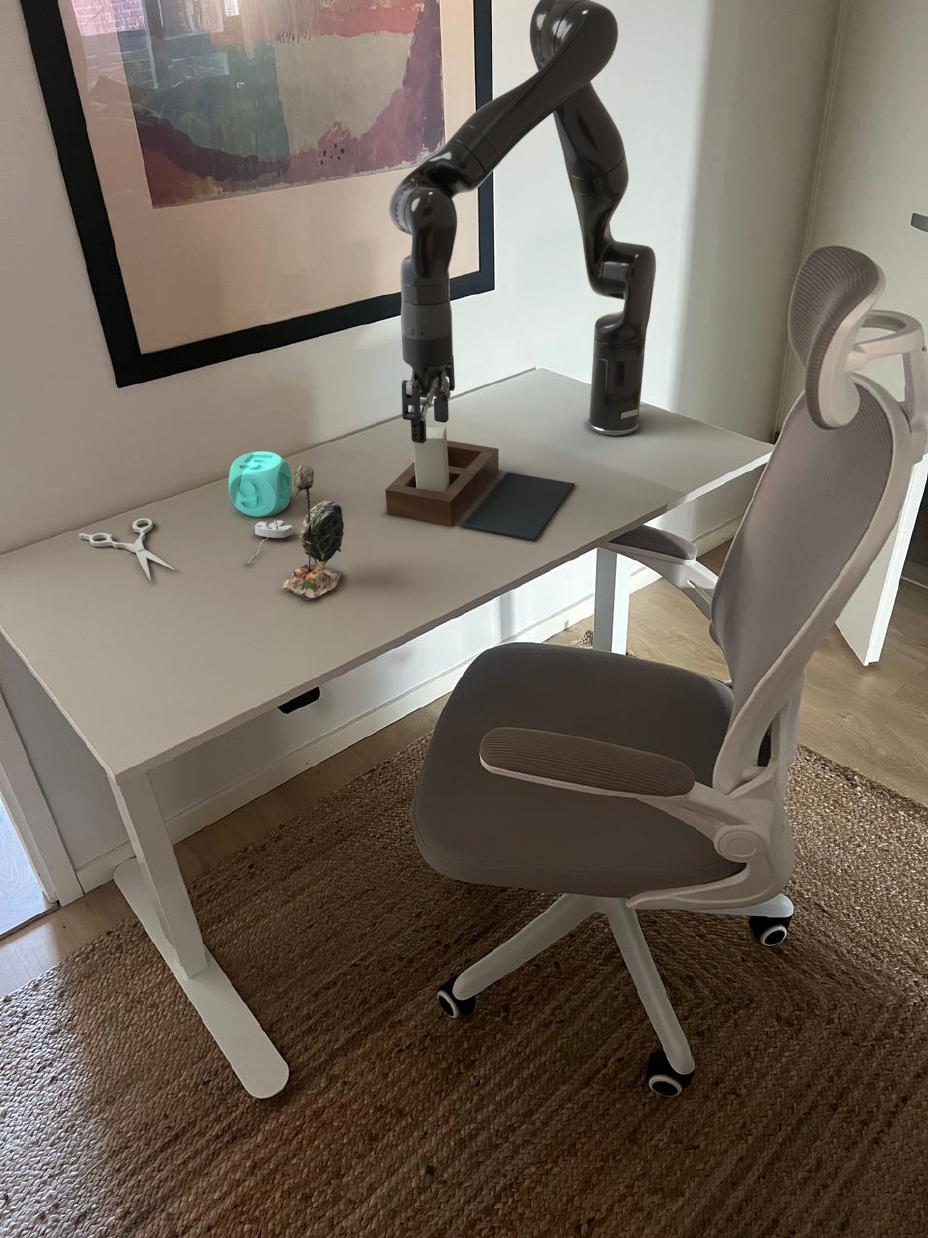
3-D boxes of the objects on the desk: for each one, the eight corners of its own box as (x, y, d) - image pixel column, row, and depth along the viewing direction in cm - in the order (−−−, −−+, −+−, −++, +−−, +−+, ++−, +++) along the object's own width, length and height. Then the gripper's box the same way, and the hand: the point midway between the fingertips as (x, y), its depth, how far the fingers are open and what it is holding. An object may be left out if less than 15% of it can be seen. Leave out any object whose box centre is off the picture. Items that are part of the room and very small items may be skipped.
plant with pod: (366, 576, 144) (355, 450, 133) (304, 607, 138) (287, 478, 126) (331, 556, 149) (317, 433, 138) (269, 586, 143) (250, 459, 131)
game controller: (294, 526, 157) (292, 511, 155) (286, 564, 148) (284, 549, 146) (258, 527, 157) (256, 512, 155) (248, 565, 147) (246, 550, 146)
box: (450, 498, 164) (448, 426, 156) (447, 511, 160) (445, 437, 153) (419, 497, 164) (415, 425, 157) (415, 510, 161) (411, 437, 153)
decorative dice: (294, 495, 166) (288, 452, 161) (280, 518, 159) (273, 473, 155) (248, 493, 167) (241, 449, 162) (232, 516, 160) (224, 471, 156)
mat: (507, 474, 171) (507, 471, 170) (574, 485, 167) (574, 483, 166) (462, 527, 156) (462, 525, 155) (534, 541, 152) (534, 538, 151)
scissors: (143, 512, 160) (197, 561, 147) (144, 517, 160) (198, 566, 147) (78, 533, 154) (128, 586, 141) (79, 538, 155) (130, 591, 142)
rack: (438, 461, 175) (437, 438, 173) (498, 472, 172) (498, 448, 169) (386, 514, 160) (385, 489, 157) (451, 526, 156) (450, 501, 153)
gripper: (430, 347, 139) (433, 453, 148) (468, 317, 150) (470, 417, 159) (382, 341, 141) (389, 445, 150) (423, 312, 152) (427, 411, 161)
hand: (430, 431), depth 155 cm, fingers open, 8 cm apart
